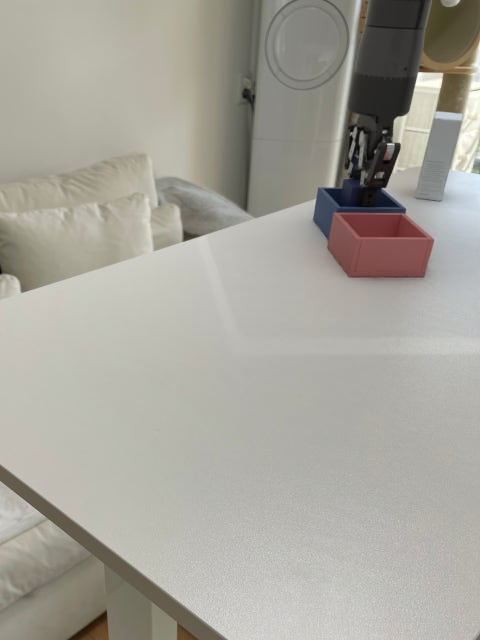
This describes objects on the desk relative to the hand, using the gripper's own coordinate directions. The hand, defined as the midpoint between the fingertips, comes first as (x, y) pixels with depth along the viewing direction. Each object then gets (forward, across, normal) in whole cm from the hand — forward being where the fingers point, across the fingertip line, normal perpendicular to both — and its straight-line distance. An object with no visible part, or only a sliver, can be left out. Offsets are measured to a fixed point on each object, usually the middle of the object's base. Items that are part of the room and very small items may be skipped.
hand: (357, 211), depth 89 cm
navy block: (0, 0, 0) cm, 0 cm away
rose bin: (+3, -11, +1) cm, 12 cm away
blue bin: (+3, 0, 0) cm, 3 cm away
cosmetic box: (+3, +18, -18) cm, 26 cm away
